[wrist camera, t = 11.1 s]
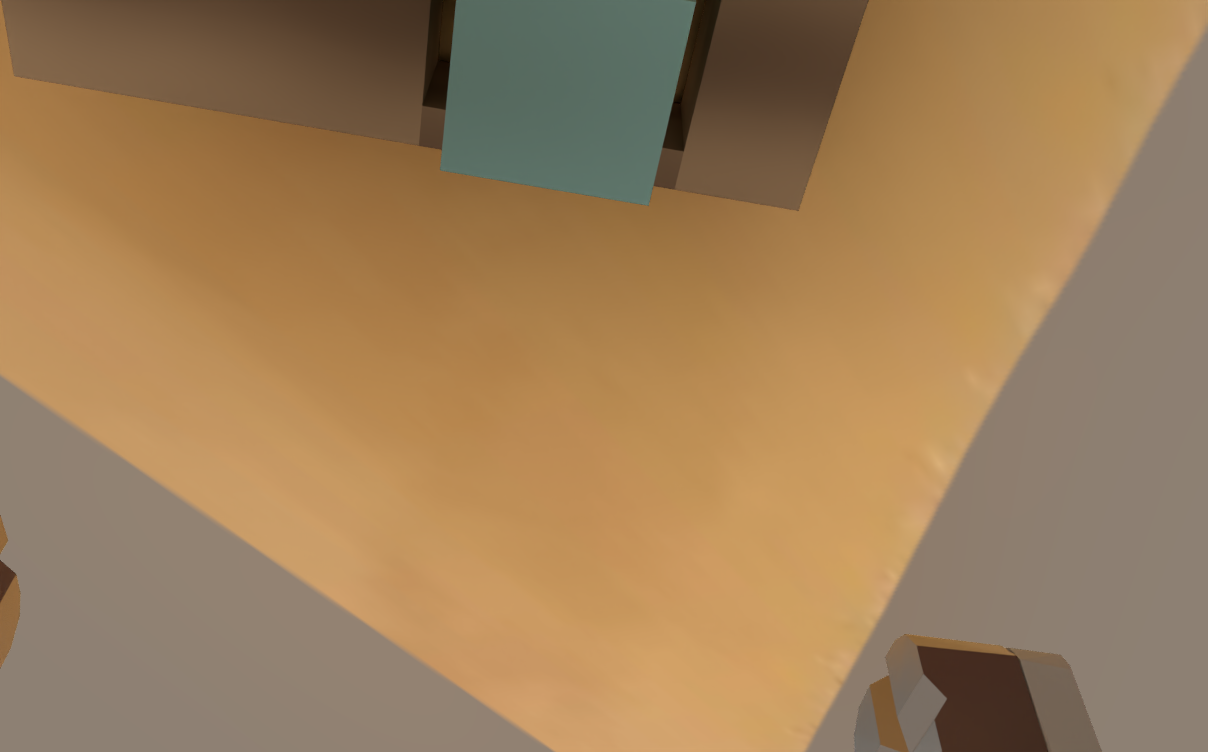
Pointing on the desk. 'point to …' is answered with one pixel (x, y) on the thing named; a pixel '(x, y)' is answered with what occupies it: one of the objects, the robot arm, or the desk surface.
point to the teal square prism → (564, 92)
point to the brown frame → (447, 74)
